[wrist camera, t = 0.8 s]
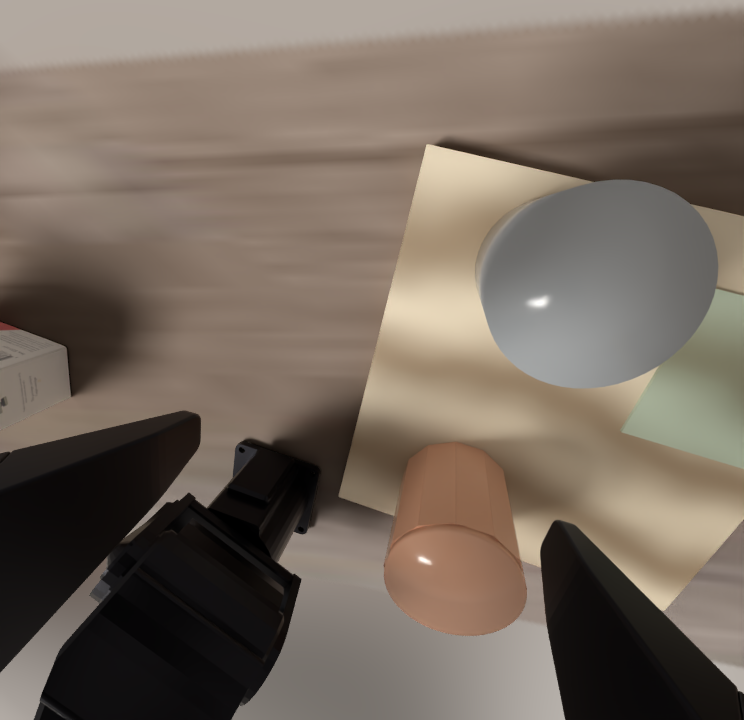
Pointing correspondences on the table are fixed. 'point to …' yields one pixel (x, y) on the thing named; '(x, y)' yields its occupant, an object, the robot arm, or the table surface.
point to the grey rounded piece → (596, 281)
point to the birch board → (554, 395)
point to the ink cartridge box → (30, 374)
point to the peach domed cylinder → (455, 543)
